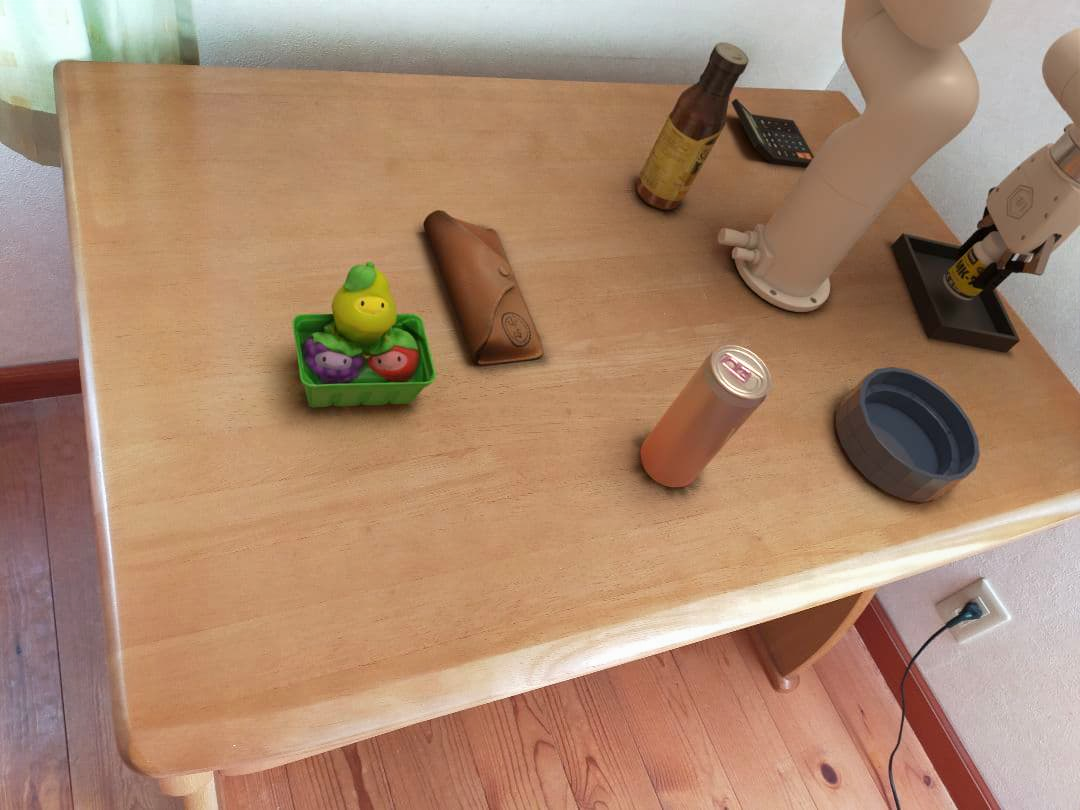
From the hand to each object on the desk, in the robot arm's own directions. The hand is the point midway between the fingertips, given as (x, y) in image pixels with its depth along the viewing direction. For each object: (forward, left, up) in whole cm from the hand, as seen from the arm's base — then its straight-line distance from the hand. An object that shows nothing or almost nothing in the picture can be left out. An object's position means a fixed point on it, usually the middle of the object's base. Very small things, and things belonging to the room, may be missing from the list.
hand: (974, 270), depth 112 cm
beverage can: (-46, -32, -5) cm, 56 cm away
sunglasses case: (-64, -14, -5) cm, 66 cm away
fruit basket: (-76, -27, -5) cm, 81 cm away
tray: (0, 0, -5) cm, 5 cm away
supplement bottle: (0, 0, -3) cm, 3 cm away
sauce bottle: (-41, +8, -5) cm, 42 cm away
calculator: (-21, +25, -5) cm, 33 cm away
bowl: (-18, -26, -5) cm, 32 cm away
